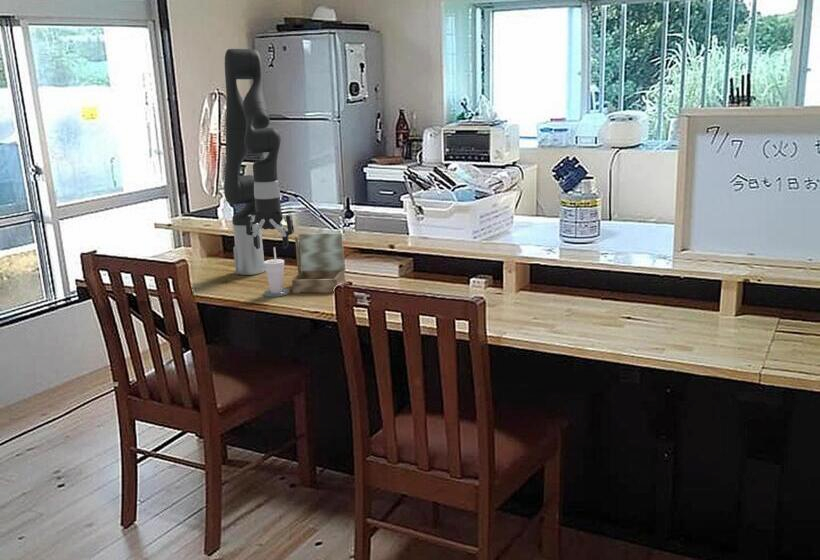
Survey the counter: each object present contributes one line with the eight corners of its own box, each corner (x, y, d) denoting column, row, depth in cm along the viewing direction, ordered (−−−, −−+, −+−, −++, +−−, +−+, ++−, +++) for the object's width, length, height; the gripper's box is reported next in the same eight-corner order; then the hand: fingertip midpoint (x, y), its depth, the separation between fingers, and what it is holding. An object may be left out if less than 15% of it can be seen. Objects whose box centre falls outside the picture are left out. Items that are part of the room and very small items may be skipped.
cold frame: (289, 292, 251) (284, 242, 247) (299, 282, 263) (295, 233, 259) (337, 292, 249) (333, 241, 245) (345, 281, 261) (341, 232, 257)
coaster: (260, 297, 247) (260, 295, 247) (268, 290, 255) (268, 288, 255) (286, 297, 246) (285, 295, 246) (292, 289, 254) (292, 288, 254)
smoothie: (285, 294, 247) (281, 249, 244) (264, 294, 248) (260, 250, 244) (288, 288, 254) (284, 244, 250) (268, 289, 254) (264, 245, 250)
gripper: (293, 193, 245) (297, 245, 250) (248, 193, 247) (252, 245, 252) (286, 197, 238) (291, 251, 243) (240, 198, 240) (245, 251, 244)
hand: (271, 248), depth 247 cm, fingers open, 8 cm apart
